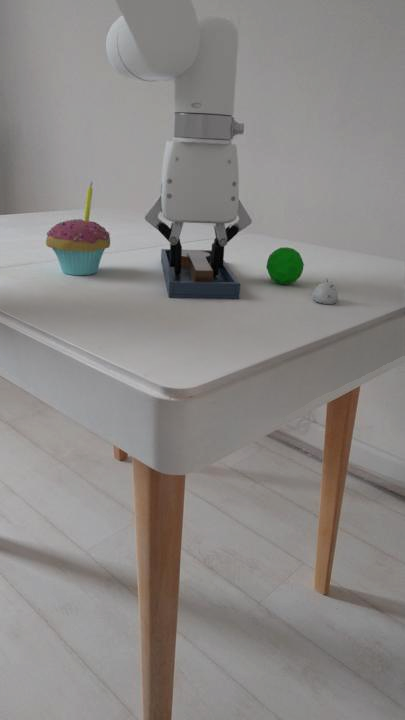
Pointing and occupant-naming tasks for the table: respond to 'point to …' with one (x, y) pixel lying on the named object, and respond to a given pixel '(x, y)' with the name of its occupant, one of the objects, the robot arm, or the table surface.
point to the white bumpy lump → (325, 293)
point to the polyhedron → (285, 265)
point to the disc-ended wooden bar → (197, 265)
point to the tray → (184, 288)
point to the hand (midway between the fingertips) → (195, 271)
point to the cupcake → (79, 243)
